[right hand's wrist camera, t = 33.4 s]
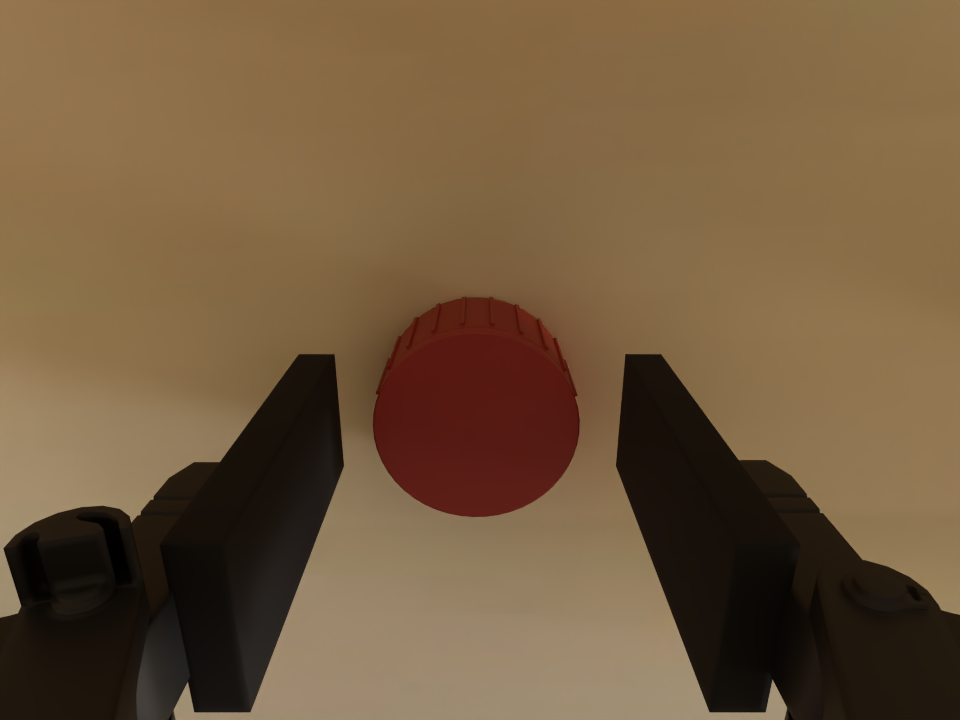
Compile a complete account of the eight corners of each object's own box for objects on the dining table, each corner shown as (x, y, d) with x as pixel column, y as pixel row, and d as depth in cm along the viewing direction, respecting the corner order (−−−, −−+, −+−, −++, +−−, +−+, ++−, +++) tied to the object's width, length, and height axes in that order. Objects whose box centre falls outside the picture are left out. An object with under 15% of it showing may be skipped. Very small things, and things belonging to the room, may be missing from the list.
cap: (533, 479, 17) (542, 540, 14) (368, 434, 16) (348, 490, 14) (592, 325, 15) (613, 365, 13) (412, 271, 15) (399, 302, 13)
